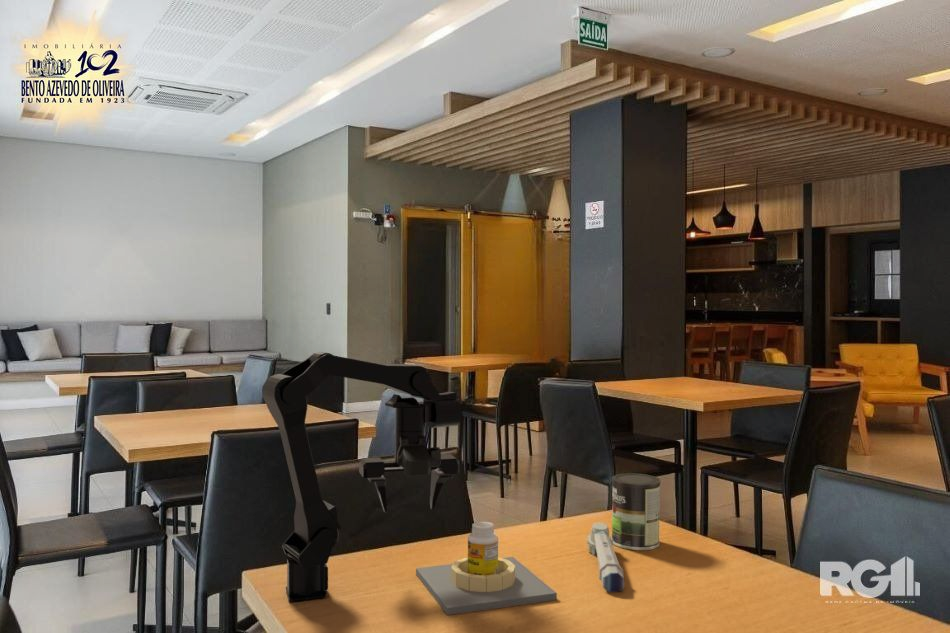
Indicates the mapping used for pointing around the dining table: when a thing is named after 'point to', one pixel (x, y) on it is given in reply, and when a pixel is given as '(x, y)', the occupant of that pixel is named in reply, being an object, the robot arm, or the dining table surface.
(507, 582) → the grey board with ring
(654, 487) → the coffee can
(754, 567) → the dining table surface
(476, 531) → the supplement bottle
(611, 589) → the grey blue-tipped handheld tool
